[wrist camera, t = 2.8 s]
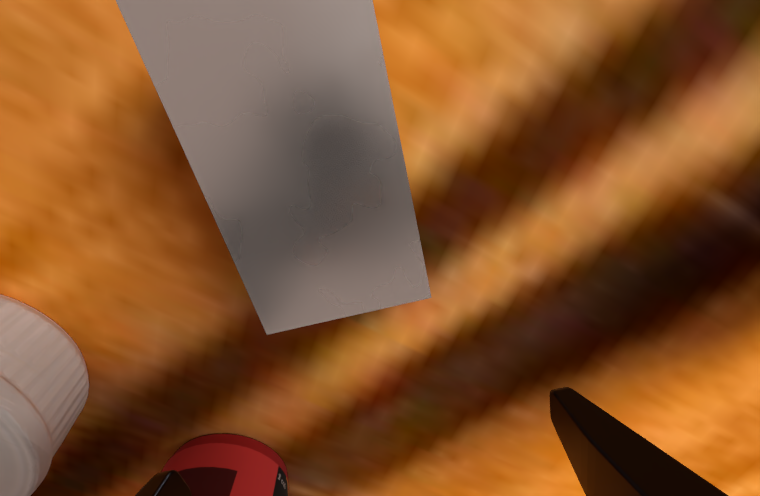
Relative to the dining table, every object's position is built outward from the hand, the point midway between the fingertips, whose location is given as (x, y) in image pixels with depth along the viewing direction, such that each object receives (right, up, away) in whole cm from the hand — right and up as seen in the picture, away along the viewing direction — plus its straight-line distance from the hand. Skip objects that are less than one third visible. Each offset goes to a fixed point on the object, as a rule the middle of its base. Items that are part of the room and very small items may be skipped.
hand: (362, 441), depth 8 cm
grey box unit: (-2, +9, +7) cm, 12 cm away
